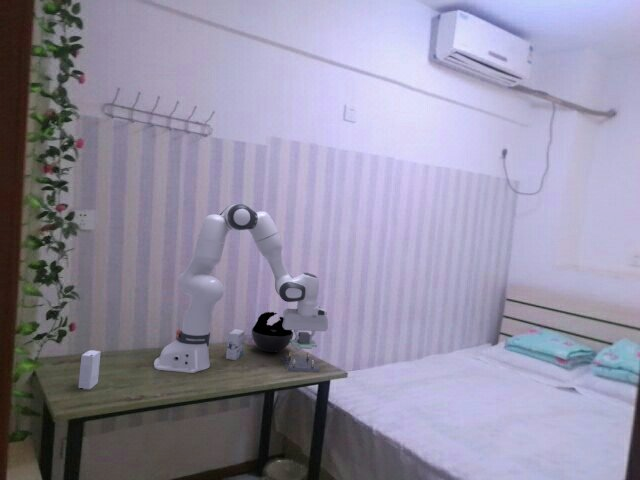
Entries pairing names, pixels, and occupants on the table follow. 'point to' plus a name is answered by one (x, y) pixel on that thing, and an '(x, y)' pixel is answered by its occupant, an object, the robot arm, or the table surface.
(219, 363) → the table surface
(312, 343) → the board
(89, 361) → the skincare box
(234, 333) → the ink box
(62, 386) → the table surface
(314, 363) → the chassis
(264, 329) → the coal bowl
